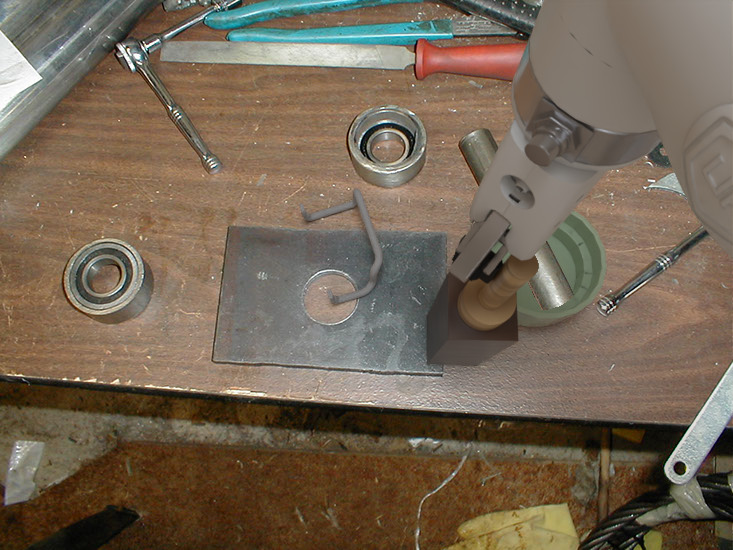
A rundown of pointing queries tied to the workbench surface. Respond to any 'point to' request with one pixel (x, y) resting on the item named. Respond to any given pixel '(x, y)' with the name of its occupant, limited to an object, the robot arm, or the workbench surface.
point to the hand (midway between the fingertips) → (511, 221)
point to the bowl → (567, 272)
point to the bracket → (372, 236)
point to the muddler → (495, 294)
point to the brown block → (462, 331)
